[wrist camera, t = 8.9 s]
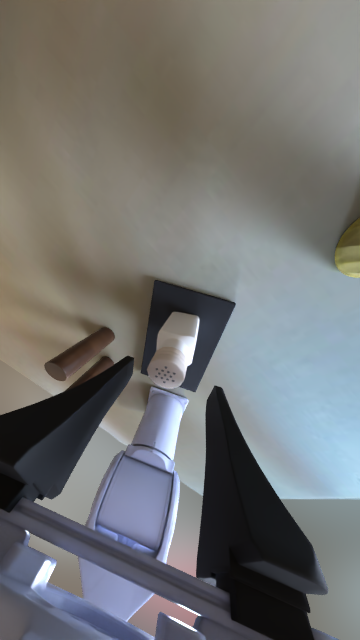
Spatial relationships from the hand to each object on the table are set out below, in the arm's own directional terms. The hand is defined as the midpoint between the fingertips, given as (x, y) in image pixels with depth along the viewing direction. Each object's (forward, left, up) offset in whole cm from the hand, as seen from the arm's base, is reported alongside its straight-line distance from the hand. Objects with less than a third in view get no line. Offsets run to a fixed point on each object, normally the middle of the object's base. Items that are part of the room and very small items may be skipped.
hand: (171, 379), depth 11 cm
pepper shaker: (+1, +1, -9) cm, 9 cm away
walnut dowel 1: (-6, +14, -10) cm, 18 cm away
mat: (-3, +1, -10) cm, 10 cm away
